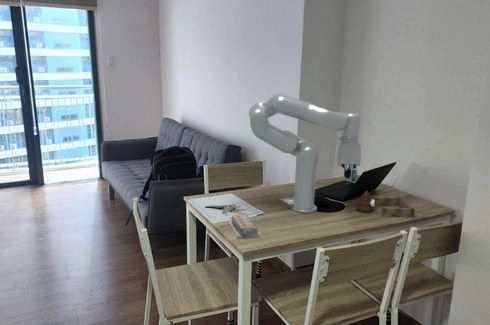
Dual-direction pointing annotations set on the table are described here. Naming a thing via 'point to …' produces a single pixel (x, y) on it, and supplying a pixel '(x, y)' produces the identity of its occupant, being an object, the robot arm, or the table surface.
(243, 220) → the packaged product
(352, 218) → the table surface
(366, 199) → the poop emoji
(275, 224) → the table surface
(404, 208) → the walnut bay
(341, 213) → the table surface
